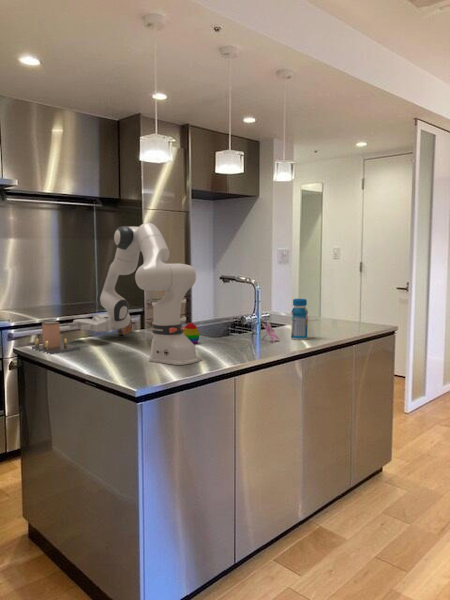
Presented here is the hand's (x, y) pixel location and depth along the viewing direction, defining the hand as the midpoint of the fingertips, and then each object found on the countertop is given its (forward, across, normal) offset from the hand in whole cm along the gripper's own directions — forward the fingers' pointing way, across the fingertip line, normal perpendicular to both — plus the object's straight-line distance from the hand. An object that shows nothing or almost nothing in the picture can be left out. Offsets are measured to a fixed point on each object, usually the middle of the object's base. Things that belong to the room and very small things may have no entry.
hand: (75, 326), depth 227 cm
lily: (-67, +64, +10) cm, 93 cm away
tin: (-35, -9, +10) cm, 37 cm away
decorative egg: (-38, +38, +9) cm, 55 cm away
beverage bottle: (-83, +71, +10) cm, 109 cm away
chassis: (+11, +2, +9) cm, 14 cm away
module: (+12, 0, +7) cm, 14 cm away
